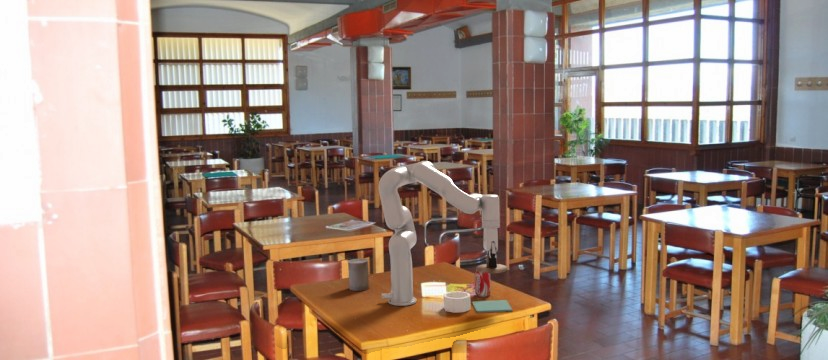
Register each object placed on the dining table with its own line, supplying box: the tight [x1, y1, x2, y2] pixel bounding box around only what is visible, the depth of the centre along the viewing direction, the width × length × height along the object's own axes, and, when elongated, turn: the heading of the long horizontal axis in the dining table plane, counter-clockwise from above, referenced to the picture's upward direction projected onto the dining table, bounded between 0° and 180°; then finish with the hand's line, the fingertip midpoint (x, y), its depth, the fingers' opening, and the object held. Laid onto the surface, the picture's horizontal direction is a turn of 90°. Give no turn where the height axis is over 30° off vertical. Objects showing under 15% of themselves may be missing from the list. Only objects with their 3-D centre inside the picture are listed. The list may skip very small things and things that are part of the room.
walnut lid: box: [476, 254, 508, 274], centre depth 294 cm, size 13×13×6 cm
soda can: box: [474, 268, 491, 298], centre depth 314 cm, size 7×7×12 cm
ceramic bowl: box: [443, 290, 472, 314], centre depth 295 cm, size 11×11×6 cm
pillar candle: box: [347, 258, 370, 292], centre depth 331 cm, size 10×10×15 cm
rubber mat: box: [471, 299, 513, 314], centre depth 296 cm, size 15×14×1 cm
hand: (491, 265), depth 294 cm, fingers closed on walnut lid, 4 cm apart
